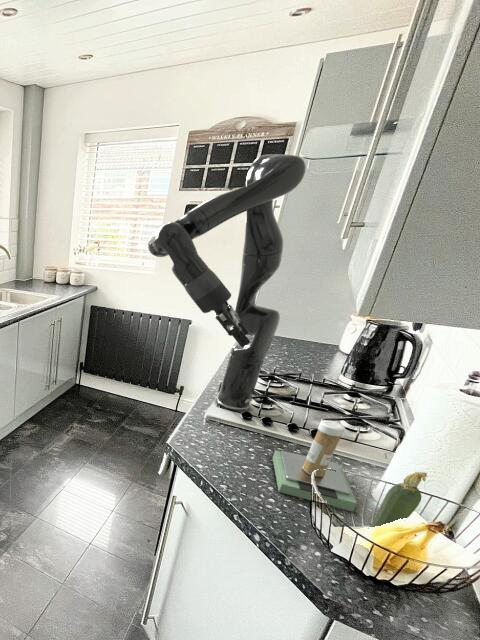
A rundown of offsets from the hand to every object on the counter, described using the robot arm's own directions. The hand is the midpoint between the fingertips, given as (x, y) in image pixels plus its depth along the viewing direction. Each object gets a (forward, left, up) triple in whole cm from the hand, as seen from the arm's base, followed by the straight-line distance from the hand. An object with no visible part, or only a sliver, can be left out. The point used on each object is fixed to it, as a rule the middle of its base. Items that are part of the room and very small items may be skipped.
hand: (245, 339), depth 108 cm
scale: (+10, +21, -31) cm, 38 cm away
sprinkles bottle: (+10, +20, -28) cm, 36 cm away
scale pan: (+9, +21, -28) cm, 36 cm away
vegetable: (+30, +29, -31) cm, 52 cm away
